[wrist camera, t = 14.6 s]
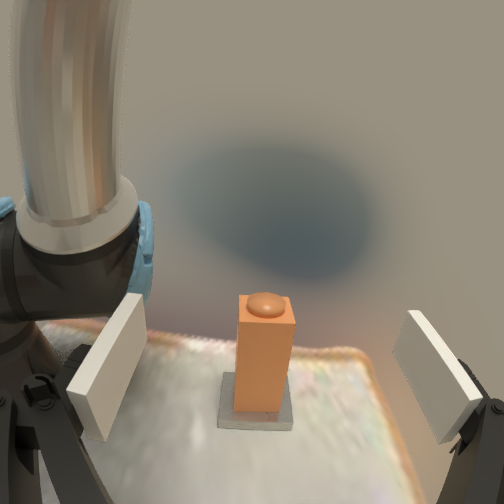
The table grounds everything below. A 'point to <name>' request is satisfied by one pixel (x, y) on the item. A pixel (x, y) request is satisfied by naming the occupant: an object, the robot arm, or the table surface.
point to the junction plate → (252, 419)
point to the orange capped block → (262, 351)
